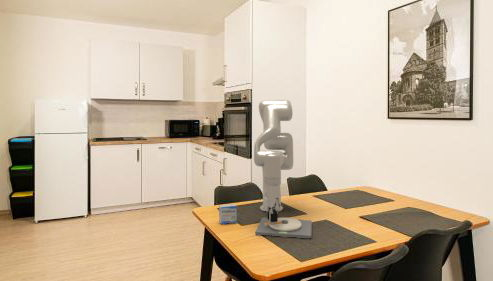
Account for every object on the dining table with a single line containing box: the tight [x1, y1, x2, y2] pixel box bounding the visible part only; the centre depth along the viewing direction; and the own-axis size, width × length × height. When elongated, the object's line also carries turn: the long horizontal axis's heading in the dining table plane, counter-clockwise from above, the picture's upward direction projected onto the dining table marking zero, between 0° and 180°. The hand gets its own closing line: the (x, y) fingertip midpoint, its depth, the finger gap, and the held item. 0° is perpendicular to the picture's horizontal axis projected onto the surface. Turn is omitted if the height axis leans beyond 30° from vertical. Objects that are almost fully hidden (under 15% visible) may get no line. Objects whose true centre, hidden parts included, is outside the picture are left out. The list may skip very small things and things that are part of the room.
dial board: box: [254, 217, 313, 239], centre depth 148 cm, size 20×24×2 cm
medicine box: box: [218, 203, 238, 225], centre depth 157 cm, size 8×4×9 cm, turn 105°
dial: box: [264, 209, 301, 231], centre depth 147 cm, size 17×15×8 cm
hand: (272, 220), depth 146 cm, fingers open, 2 cm apart
